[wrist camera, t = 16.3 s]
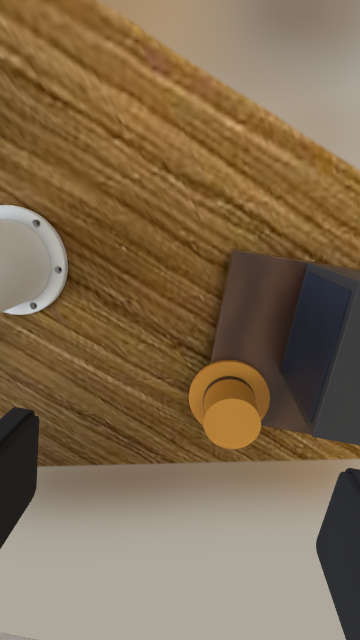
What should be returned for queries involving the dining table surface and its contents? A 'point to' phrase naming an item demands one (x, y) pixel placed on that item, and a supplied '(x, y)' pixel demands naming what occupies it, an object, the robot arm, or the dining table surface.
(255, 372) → the hat
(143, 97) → the dining table surface
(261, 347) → the brown flat slab
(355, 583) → the robot arm
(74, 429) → the dining table surface
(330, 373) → the dark grey block
